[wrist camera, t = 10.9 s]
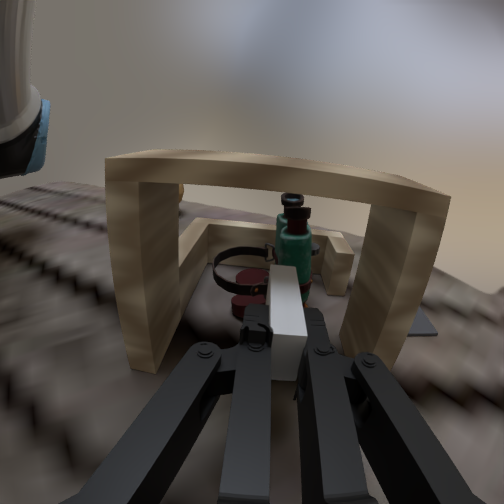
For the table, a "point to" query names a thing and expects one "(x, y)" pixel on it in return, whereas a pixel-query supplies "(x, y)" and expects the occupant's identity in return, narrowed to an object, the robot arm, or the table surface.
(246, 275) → the binoculars
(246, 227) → the tunnel
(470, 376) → the table surface
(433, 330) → the mat
